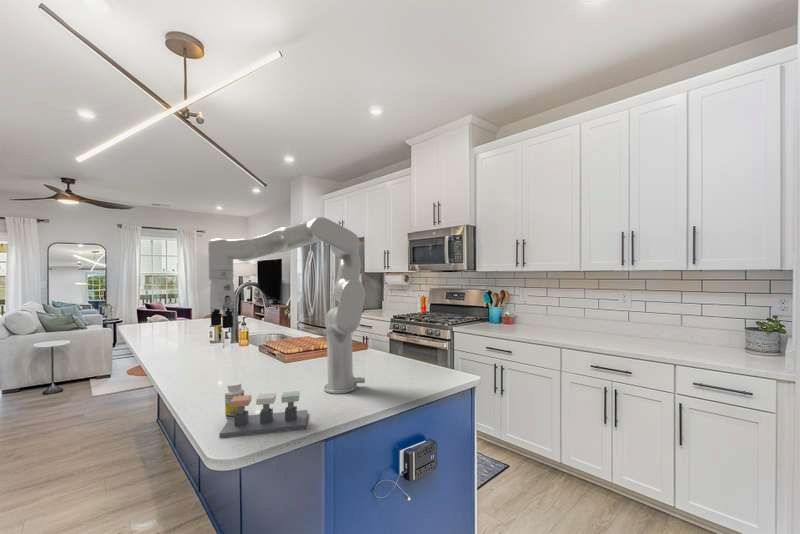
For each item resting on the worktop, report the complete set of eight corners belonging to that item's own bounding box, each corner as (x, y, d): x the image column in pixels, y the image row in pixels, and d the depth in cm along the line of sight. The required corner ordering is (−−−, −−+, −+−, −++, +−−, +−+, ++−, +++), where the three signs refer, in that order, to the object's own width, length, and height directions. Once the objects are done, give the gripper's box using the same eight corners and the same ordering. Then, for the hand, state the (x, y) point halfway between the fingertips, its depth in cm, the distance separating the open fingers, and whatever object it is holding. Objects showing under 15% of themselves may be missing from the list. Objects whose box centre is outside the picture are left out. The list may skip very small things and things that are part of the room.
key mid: (275, 408, 113) (275, 392, 113) (273, 413, 109) (273, 397, 109) (259, 409, 112) (259, 394, 112) (256, 415, 108) (256, 399, 108)
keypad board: (307, 413, 119) (307, 400, 119) (305, 428, 107) (305, 414, 107) (230, 421, 114) (230, 407, 114) (219, 437, 102) (219, 422, 102)
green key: (299, 405, 115) (299, 390, 115) (298, 411, 110) (298, 395, 110) (283, 407, 114) (283, 392, 114) (281, 413, 109) (281, 397, 109)
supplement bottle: (239, 411, 122) (238, 380, 122) (247, 415, 118) (247, 383, 118) (222, 416, 118) (221, 384, 118) (230, 421, 114) (229, 387, 114)
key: (251, 410, 112) (251, 394, 112) (248, 416, 107) (248, 400, 107) (234, 411, 111) (234, 396, 111) (230, 417, 106) (230, 401, 106)
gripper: (243, 275, 122) (244, 327, 122) (222, 275, 134) (223, 323, 134) (219, 275, 117) (220, 330, 116) (200, 276, 128) (200, 325, 128)
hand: (221, 326), depth 125 cm, fingers open, 9 cm apart
